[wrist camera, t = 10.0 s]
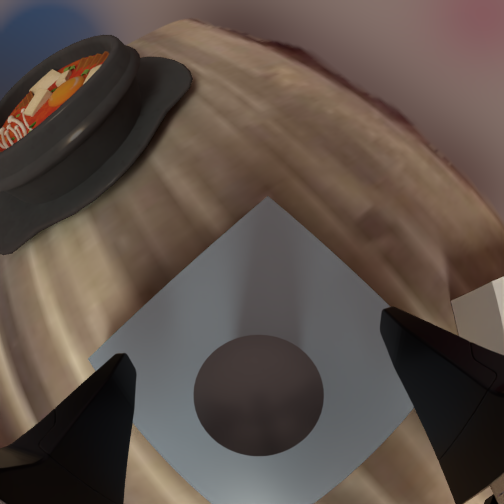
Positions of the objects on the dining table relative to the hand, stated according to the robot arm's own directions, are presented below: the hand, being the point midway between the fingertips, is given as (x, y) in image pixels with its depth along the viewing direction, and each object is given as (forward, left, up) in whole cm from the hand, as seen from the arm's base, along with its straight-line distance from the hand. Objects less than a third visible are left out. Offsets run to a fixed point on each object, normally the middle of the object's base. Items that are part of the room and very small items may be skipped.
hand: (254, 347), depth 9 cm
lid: (-1, 0, -7) cm, 7 cm away
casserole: (+19, +14, -7) cm, 25 cm away
